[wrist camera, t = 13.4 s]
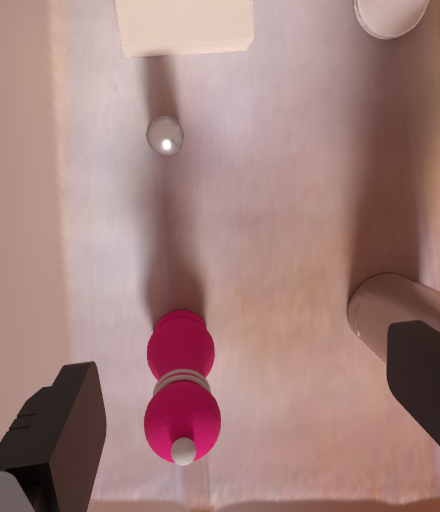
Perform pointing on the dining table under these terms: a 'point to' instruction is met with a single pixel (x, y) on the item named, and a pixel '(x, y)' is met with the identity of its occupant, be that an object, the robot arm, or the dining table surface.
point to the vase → (389, 16)
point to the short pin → (165, 135)
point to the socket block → (184, 26)
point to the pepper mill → (181, 389)
